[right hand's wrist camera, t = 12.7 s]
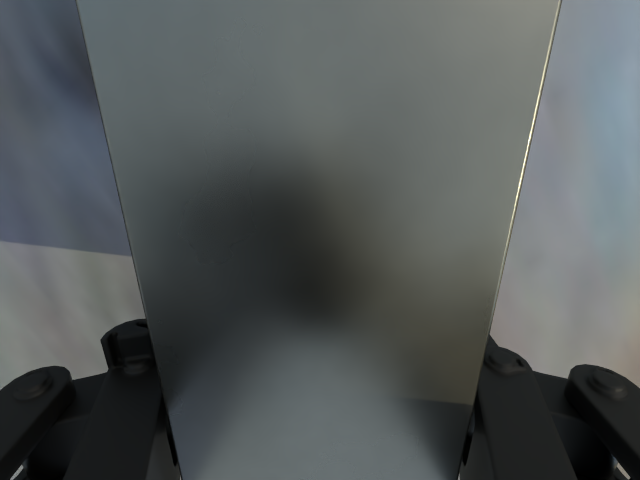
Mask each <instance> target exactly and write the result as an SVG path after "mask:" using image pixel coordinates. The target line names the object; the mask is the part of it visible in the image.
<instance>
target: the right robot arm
mask: <svg viewBox="0 0 640 480" xmlns="http://www.w3.org/2000/svg"><path fill="white" fill-rule="evenodd" d="M101 344H102V347H103V351H104V354H105V358H106V362H107V365H108V371H107V372H106V373H103V374H99V375H94V376H90V377H85V378H81V379H76V380H72V377H71V375H70V372H69V371H68V370H67V369H66V368H65V367H60V366H50V367H43V368H39V369H36V370H33V371H30V372H28V373H26V374H24V375H22V376H20V377H18V378H16V379H14V380H13V381H12V382H10V383H9V384H8V385H6V386H5V387H4V388H3V389H1V390H0V480H10V478H11V477H12V476H13V475H14V473H15V472H16V471H17V470H18V468H19V467H20V466H21V465H23V467H24V468H23V469H22V471H21V472H20V473H19V475H18V476H17V477H16V478H15V479H13V480H180V471H179V466H178V461H177V457H176V452H175V448H174V443H173V439H172V434H171V430H170V425H169V421H168V416H167V412H166V407H165V403H164V398H163V394H162V389H161V385H160V380H159V376H158V371H157V367H156V362H155V358H154V353H153V349H152V344H151V340H150V335H149V330H148V326H147V321H146V319H137V320H132V321H128V322H125V323H123V324H120V325H118V326H116V327H114V328H113V329H111V330H110V331H108V332H107V333H106V334H105V335H104V336H103V337H102V339H101ZM618 462H619V464H620V465H621V466H622V467H623V469H624V470H625V471H626V472H627V474H628V475H629V476H630V477H631V478H630V479H629V480H640V388H638V387H637V386H636V385H635V384H633V383H632V382H631V381H629V380H628V379H627V378H625V377H623V376H621V375H620V374H618V373H616V372H614V371H612V370H609V369H606V368H603V367H599V366H594V365H587V364H584V365H576V366H575V367H574V368H572V369H571V371H570V374H569V377H568V379H566V378H561V377H557V376H552V375H548V374H543V373H539V372H535V371H532V368H531V367H530V366H529V364H528V363H527V361H526V360H525V359H523V358H522V357H521V356H519V355H518V354H516V353H514V352H512V351H510V350H508V349H505V348H502V347H498V345H497V344H496V343H495V341H494V340H493V339H492V337H491V336H490V334H489V338H488V343H487V347H486V352H485V356H484V361H483V366H482V370H481V375H480V379H479V384H478V388H477V393H476V398H475V402H474V407H473V411H472V416H471V421H470V425H469V430H468V434H467V439H466V444H465V448H464V453H463V457H462V462H461V467H460V471H459V473H460V480H628V479H627V478H626V477H625V476H624V475H623V474H622V473H621V472H620V470H619V469H618V468H617V464H618Z"/></svg>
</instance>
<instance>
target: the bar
mask: <svg viewBox="0 0 640 480" xmlns="http://www.w3.org/2000/svg"><path fill="white" fill-rule="evenodd" d="M75 1H76V5H77V10H78V14H79V19H80V23H81V28H82V32H83V37H84V41H85V46H86V50H87V55H88V59H89V64H90V68H91V73H92V78H93V82H94V87H95V91H96V96H97V100H98V105H99V109H100V114H101V118H102V123H103V127H104V132H105V136H106V141H107V145H108V150H109V154H110V159H111V163H112V168H113V172H114V177H115V181H116V186H117V190H118V195H119V199H120V204H121V209H122V213H123V218H124V222H125V227H126V231H127V236H128V240H129V245H130V249H131V254H132V258H133V263H134V267H135V272H136V276H137V281H138V285H139V290H140V294H141V299H142V303H143V308H144V312H145V317H146V321H147V326H148V330H149V335H150V340H151V344H152V349H153V353H154V358H155V362H156V367H157V371H158V376H159V380H160V385H161V389H162V394H163V398H164V403H165V407H166V412H167V416H168V421H169V425H170V430H171V434H172V439H173V443H174V448H175V452H176V457H177V461H178V466H179V471H180V475H181V480H458V476H459V471H460V467H461V462H462V457H463V453H464V448H465V444H466V439H467V434H468V430H469V425H470V421H471V416H472V411H473V407H474V402H475V398H476V393H477V388H478V384H479V379H480V375H481V370H482V366H483V361H484V356H485V352H486V347H487V343H488V338H489V333H490V329H491V324H492V320H493V315H494V310H495V306H496V301H497V297H498V292H499V288H500V283H501V278H502V274H503V269H504V265H505V260H506V255H507V251H508V246H509V242H510V237H511V232H512V228H513V223H514V219H515V214H516V210H517V205H518V200H519V196H520V191H521V187H522V182H523V177H524V173H525V168H526V164H527V159H528V154H529V150H530V145H531V141H532V136H533V132H534V127H535V122H536V118H537V113H538V109H539V104H540V99H541V95H542V90H543V86H544V81H545V76H546V72H547V67H548V63H549V58H550V54H551V49H552V44H553V40H554V35H555V31H556V26H557V21H558V17H559V12H560V8H561V3H562V0H75Z"/></svg>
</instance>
